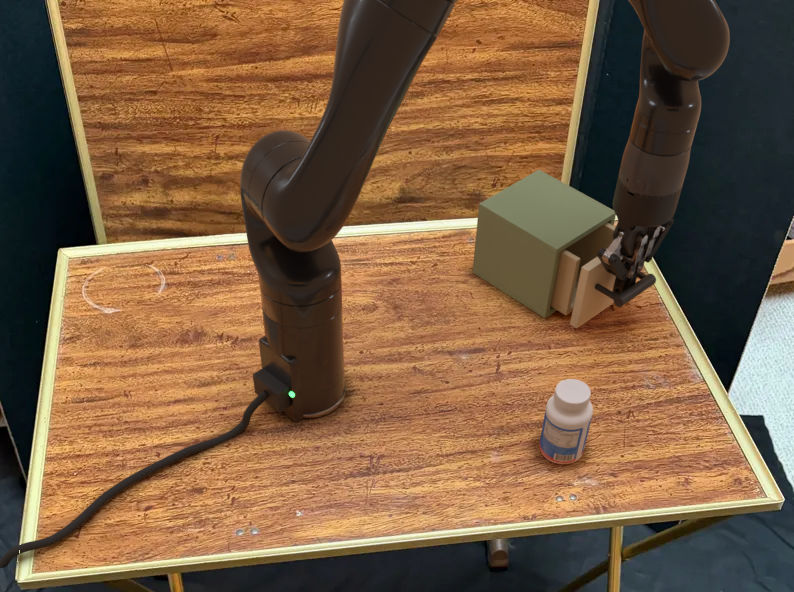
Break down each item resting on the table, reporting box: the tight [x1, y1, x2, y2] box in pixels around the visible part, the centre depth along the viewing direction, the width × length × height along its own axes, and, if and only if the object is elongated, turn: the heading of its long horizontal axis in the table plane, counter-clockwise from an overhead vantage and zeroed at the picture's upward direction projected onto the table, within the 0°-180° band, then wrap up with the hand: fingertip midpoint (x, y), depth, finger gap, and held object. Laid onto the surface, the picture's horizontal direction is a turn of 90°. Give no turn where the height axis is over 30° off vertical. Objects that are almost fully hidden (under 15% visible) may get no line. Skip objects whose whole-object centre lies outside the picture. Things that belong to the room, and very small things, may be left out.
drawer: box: [550, 222, 657, 329], centre depth 130 cm, size 17×11×9 cm, turn 43°
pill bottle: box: [539, 378, 594, 465], centre depth 113 cm, size 6×5×10 cm
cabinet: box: [472, 169, 617, 319], centre depth 133 cm, size 14×12×11 cm
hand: (621, 294), depth 128 cm, fingers closed
